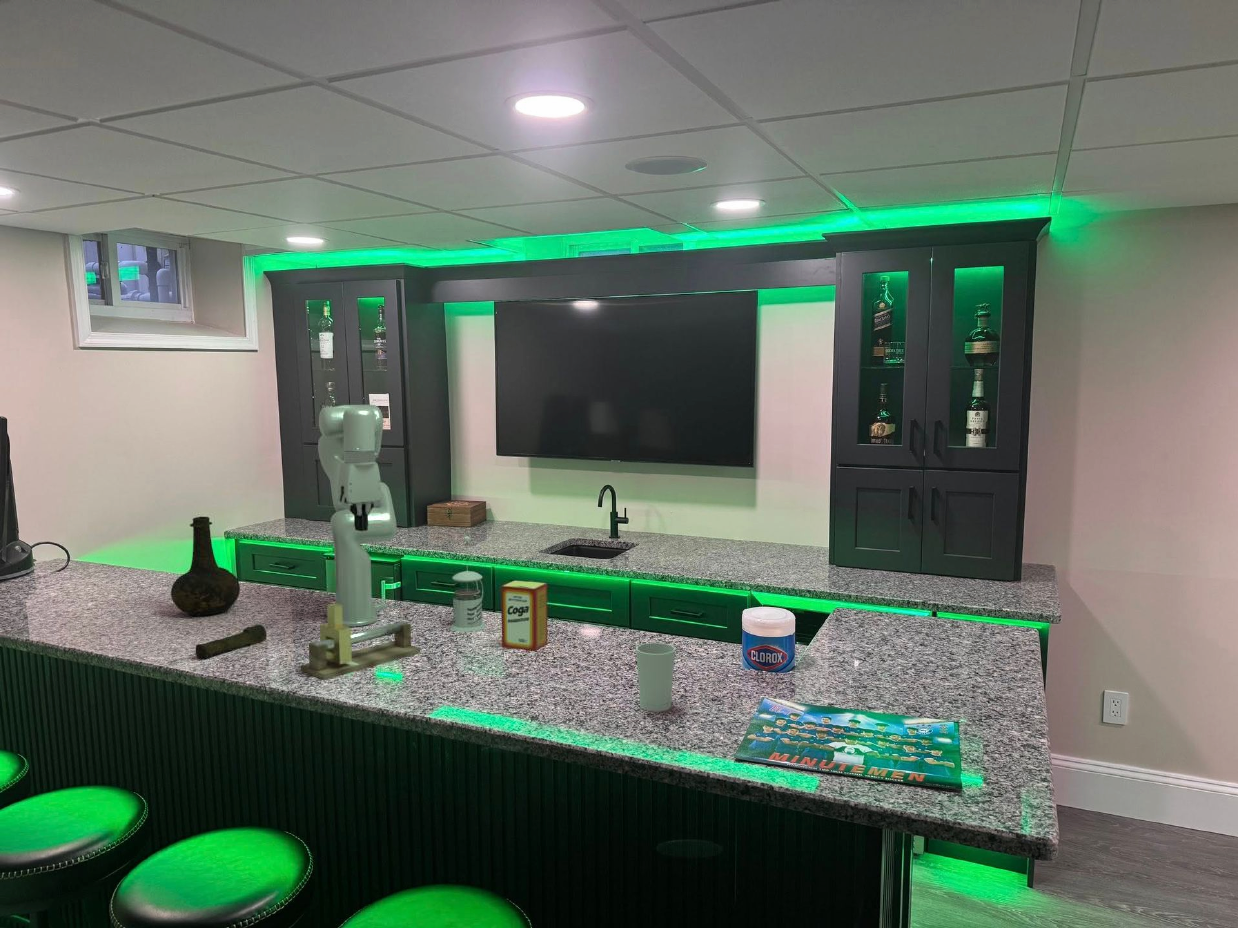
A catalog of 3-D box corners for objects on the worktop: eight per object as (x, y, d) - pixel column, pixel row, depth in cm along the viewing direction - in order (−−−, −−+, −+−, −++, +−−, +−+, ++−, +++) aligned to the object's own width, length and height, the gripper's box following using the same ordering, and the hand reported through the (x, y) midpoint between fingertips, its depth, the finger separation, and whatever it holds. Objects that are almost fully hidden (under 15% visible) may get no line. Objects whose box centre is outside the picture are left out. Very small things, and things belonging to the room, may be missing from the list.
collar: (332, 654, 201) (331, 600, 200) (351, 661, 196) (350, 606, 194) (320, 657, 198) (319, 603, 197) (339, 664, 193) (338, 608, 192)
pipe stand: (396, 645, 216) (395, 618, 215) (420, 652, 209) (419, 625, 209) (300, 670, 196) (299, 641, 195) (324, 679, 189) (323, 649, 189)
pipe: (400, 630, 212) (400, 619, 212) (407, 632, 210) (407, 621, 210) (312, 652, 194) (312, 640, 194) (319, 655, 192) (318, 643, 192)
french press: (442, 629, 230) (441, 537, 228) (465, 618, 241) (464, 531, 239) (473, 633, 227) (472, 540, 225) (496, 622, 237) (495, 533, 235)
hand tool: (204, 661, 203) (204, 642, 202) (194, 659, 205) (193, 640, 205) (273, 642, 219) (272, 624, 219) (263, 639, 221) (262, 622, 221)
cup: (634, 699, 177) (634, 643, 176) (671, 698, 178) (672, 642, 177) (638, 713, 169) (638, 654, 168) (677, 712, 170) (678, 653, 169)
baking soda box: (502, 646, 214) (501, 584, 213) (514, 640, 220) (513, 579, 219) (535, 651, 211) (535, 587, 209) (547, 643, 217) (547, 582, 216)
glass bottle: (253, 607, 254) (250, 514, 252) (206, 622, 237) (202, 523, 235) (206, 602, 260) (203, 511, 257) (157, 617, 243) (153, 519, 240)
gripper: (376, 455, 222) (378, 525, 223) (324, 459, 210) (326, 532, 212) (393, 457, 217) (395, 528, 219) (341, 460, 206) (343, 535, 207)
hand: (361, 530), depth 215 cm, fingers closed
